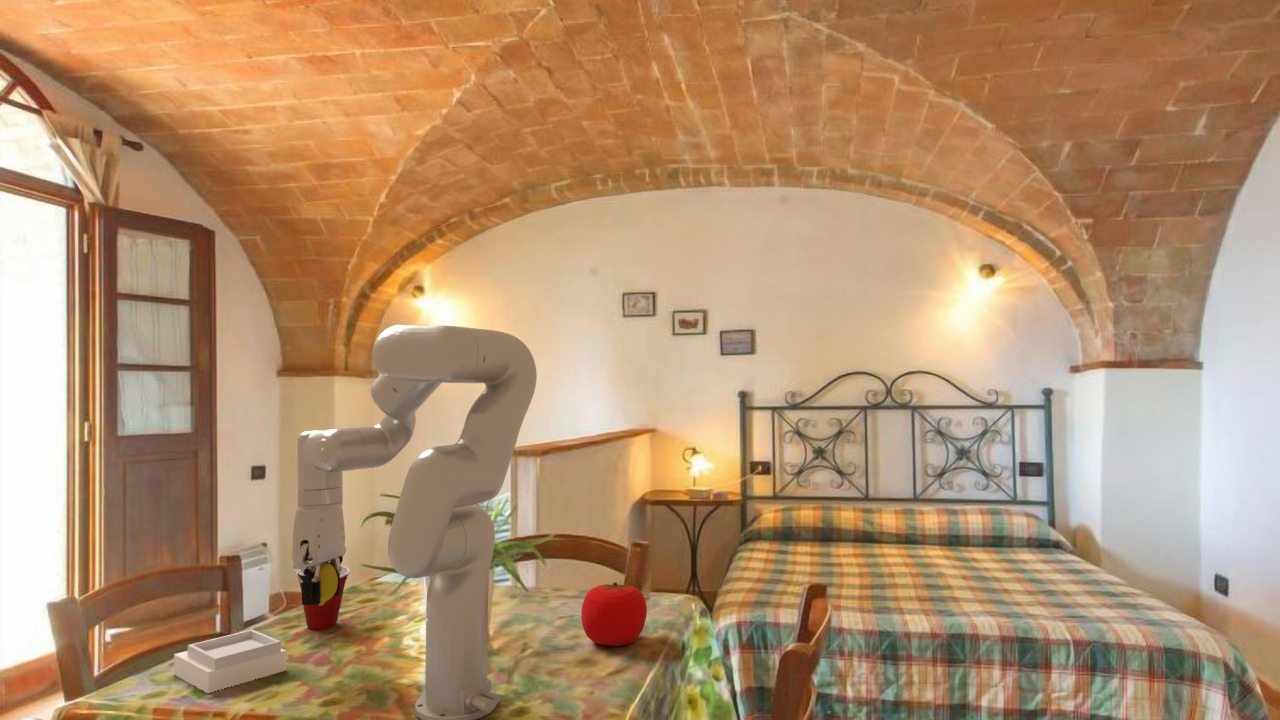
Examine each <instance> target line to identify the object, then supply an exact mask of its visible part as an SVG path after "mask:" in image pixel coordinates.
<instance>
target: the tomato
mask: <svg viewBox="0 0 1280 720" xmlns="http://www.w3.org/2000/svg"><path fill="white" fill-rule="evenodd" d="M581 606H582V607H581V617H580V618H581V625H582V628H583V631H584V633H585V635H586V637H587V638H588V639H589V640H590V641H592V642H594V643H596V644H598V645H603V646H607V645H610V646H609V647H618V646H617V645H623V646H625V645H624V644H626V645H629V644H628V643H630V644H632V643H633V642H634V641H636V640H637V639H638V638H639V636H640V635H641V633H642V632H643V629H644V627H645V624H646V619H647V614H648V613H647V612H648V607H647V602H646V599H645V596H644V594H643V592H642V591H641V590H640V589H639V588H637V587H635V586H634V585H629V584H618V582H613V583H611V584H608V583H607V584H600V585H596V586H594V587H591V589H590V590H589V591H587V593H586V595H585V596H584V598H583V601H582V605H581ZM631 642H632V643H631Z"/></svg>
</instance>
